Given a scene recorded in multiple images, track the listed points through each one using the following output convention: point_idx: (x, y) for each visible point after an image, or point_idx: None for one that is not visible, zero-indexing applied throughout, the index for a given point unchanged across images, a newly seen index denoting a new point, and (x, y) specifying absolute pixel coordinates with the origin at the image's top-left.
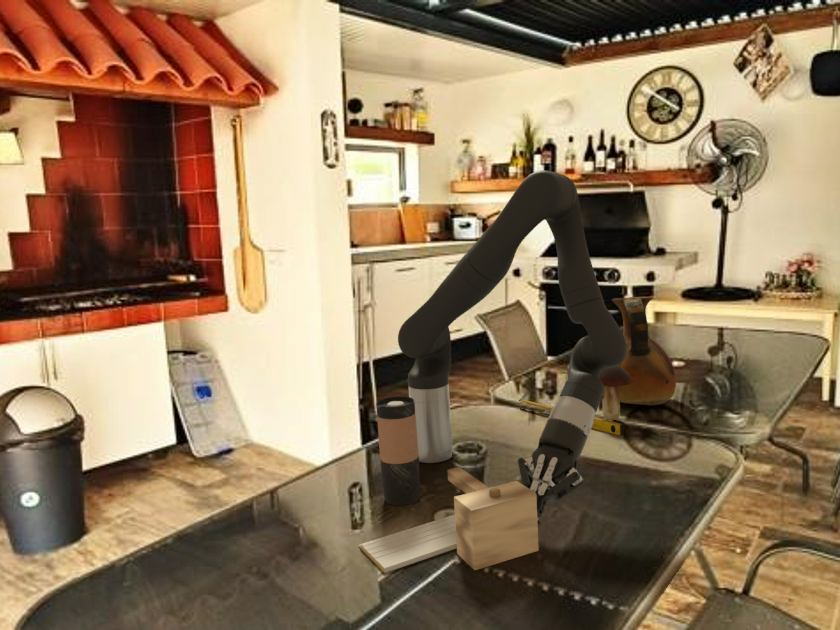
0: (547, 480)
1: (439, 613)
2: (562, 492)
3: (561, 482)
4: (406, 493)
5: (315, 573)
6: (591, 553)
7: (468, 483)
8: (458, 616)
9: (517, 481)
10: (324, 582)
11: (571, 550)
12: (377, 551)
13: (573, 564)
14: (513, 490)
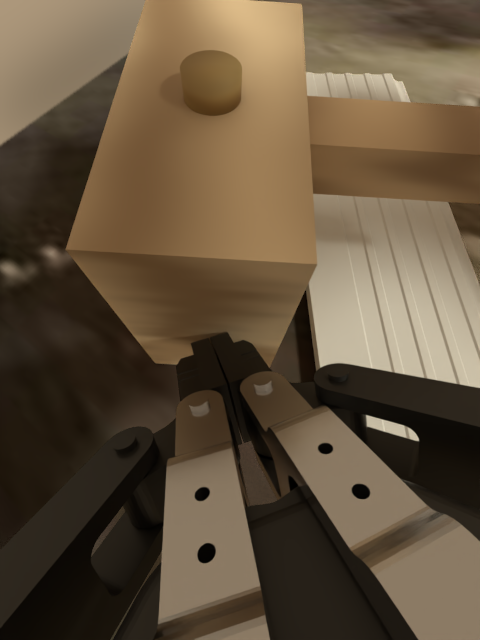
0: (179, 460)
1: (104, 94)
2: (116, 553)
3: (48, 550)
4: None
5: (337, 24)
6: (17, 506)
7: (432, 108)
8: (73, 109)
9: (301, 262)
10: (303, 25)
11: (84, 456)
12: (349, 82)
13: (21, 400)
14: (197, 177)
